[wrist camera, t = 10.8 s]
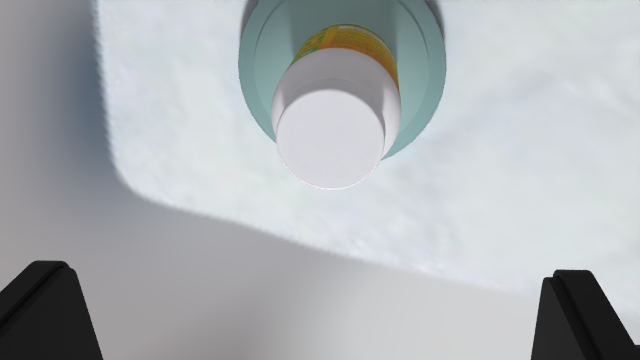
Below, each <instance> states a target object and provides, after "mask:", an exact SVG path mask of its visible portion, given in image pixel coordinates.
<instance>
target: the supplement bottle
mask: <svg viewBox="0 0 640 360" xmlns="http://www.w3.org/2000/svg"><path fill="white" fill-rule="evenodd" d="M271 120H272V126H273V130H274V133H275V135H276V144H277V149H278V153H279V155H280V158H281V160H282V162H283V163H284V165H285V166H286V168H287V169H288V170H289V171H290V172H291V173H292V174H293V175H294V176H295V177H296V178H298V179H299V180H300V181H302V182H304V183H306V184H308V185H310V186H313V187H316V188H319V189H326V190H338V189H344V188H348V187H351V186H354V185H356V184H358V183H360V182H362V181H363V180H364V179H366V178H367V177H368V176H369V175H370V174H371V173H372V172H373V171H374V170H375V168H376V167H377V165H378V164H379V162H380V160H381V159H382V158H383V157H384V156H385V155H386V153H387V152H388V151H389V150H390V148H391V147H392V145H393V143H394V141H395V139H396V137H397V134H398V131H399V128H400V123H401V98H400V91H399V82H398V71H397V65H396V61H395V57H394V55H393V52H392V50H391V49H390V47H389V46H388V44H387V43H386V42H385V40H384V39H383V38H382V37H381V36H379V35H378V34H377V33H376V32H374V31H373V30H371V29H369V28H367V27H365V26H362V25H358V24H354V23H337V24H332V25H329V26H326V27H324V28H322V29H320V30H318V31H317V32H315V33H314V34H313V35H312V36H311V37H309V38H308V39H307V41H306V42H305V43H304V44H303V46H302V47H301V48H300V50H299V52H298V53H297V55H296V56H295V58H294V59H293V61H292V62H291V64H290V65H289V67H288V68H287V70H286V71H285V73H284V74H283V76H282V77H281V79H280V81H279V82H278V84H277V87H276V89H275V92H274V95H273V99H272V104H271Z"/></svg>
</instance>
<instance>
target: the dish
mask: <svg viewBox="0 0 640 360" xmlns="http://www.w3.org/2000/svg"><path fill="white" fill-rule="evenodd" d="M337 23H354V24H358V25H362V26H365V27H367V28H369V29H371V30H373V31H374V32H376V33H377V34H378V35H379V36H381V37H382V38H383V39H384V40H385V42H386V43H387V44H388V46H389V47H390V49H391V50H392V52H393V55H394V57H395V61H396V65H397V71H398V82H399V91H400V98H401V123H400V128H399V131H398V134H397V137H396V139H395V141H394V143H393V145H392V147H391V148H390V150H389V151H388V152H387V153H386V155H385V156H384V157H383V158H382V159H381V160H383V159H386V158H388V157H390V156H392V155H394V154H395V153H397V152H399V151H400V150H402V149H403V148H405V147H406V146H407V145H408V144H410V143H411V142H412V141H413V140H414V139H415V138H416V137H417V136H418V135H419V134H420V133H421V132H422V131H423V130H424V128H425V127H426V125H427V124H428V123H429V121H430V120H431V118H432V116H433V114H434V113H435V111H436V109H437V107H438V104H439V102H440V99H441V96H442V93H443V88H444V84H445V77H446V52H445V46H444V41H443V37H442V34H441V31H440V28H439V26H438V23H437V21H436V19H435V17H434V15H433V13H432V12H431V10H430V8H429V7H428V5H427V4H426V2H425V1H424V0H260V1H259V2H258V4H257V5H256V7H255V8H254V10H253V11H252V13H251V15H250V17H249V19H248V21H247V23H246V26H245V29H244V32H243V35H242V38H241V43H240V48H239V60H238V67H239V79H240V84H241V89H242V92H243V95H244V98H245V101H246V104H247V106H248V108H249V110H250V112H251V114H252V115H253V117H254V119H255V120H256V122H257V123H258V125H259V126H260V127H261V128H262V130H263V131H264V132H265V133H266V134H267V135H268V136H269V137H270V138H271V139H272V140H273V141H274V142H275V143H276V135H275V133H274V130H273V126H272V120H271V104H272V99H273V95H274V92H275V89H276V87H277V84H278V82H279V81H280V79H281V77H282V76H283V74H284V73H285V71H286V70H287V68H288V67H289V65H290V64H291V62H292V61H293V59H294V58H295V56H296V55H297V53H298V52H299V50H300V48H301V47H302V46H303V44H304V43H305V42H306V41H307V39H308V38H309V37H311V36H312V35H313V34H314V33H315V32H317V31H318V30H320V29H322V28H324V27H326V26H329V25H332V24H337ZM381 160H380V161H381Z"/></svg>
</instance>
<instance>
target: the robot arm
mask: <svg viewBox="0 0 640 360" xmlns="http://www.w3.org/2000/svg"><path fill="white" fill-rule="evenodd" d="M0 360H103V357H102V354H101V351H100V348H99V344H98V341H97V338H96V335H95V332H94V328H93V325H92V322H91V319H90V315H89V312H88V309H87V306H86V302H85V299H84V296H83V293H82V290H81V286H80V283H79V280H78V277H77V274H76V272H75V270H73V269H72V268H70V267H69V265H68V264H67V263H66V262H63V261H39V260H38V261H34V262H32V263H31V264H30V265H28V267H26V268H25V269H24V270H23V271H22V272H21V273H20V274H19V275H18V276H17V277H16V278H15V279H14V280H13V281H12V282H11V283H9V284H8V286H6V287H5V288H4V289H3V290H2V291H1V292H0ZM531 360H640V345H635V344H634V343H633V341H632V339H631V338H630V336H629V334H628V333H627V331H626V329H625V327H624V326H623V324H622V322H621V321H620V319H619V317H618V316H617V314H616V312H615V311H614V309H613V307H612V306H611V304H610V302H609V301H608V299H607V297H606V295H605V294H604V292H603V290H602V289H601V287H600V285H599V284H598V282H597V280H596V279H595V277H594V275H593V274H592V273H591V271H588V270H556V271H555V272H554V274H553V277H545V278H544V280H543V283H542V289H541V295H540V302H539V309H538V315H537V322H536V328H535V335H534V342H533V349H532V355H531Z"/></svg>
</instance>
